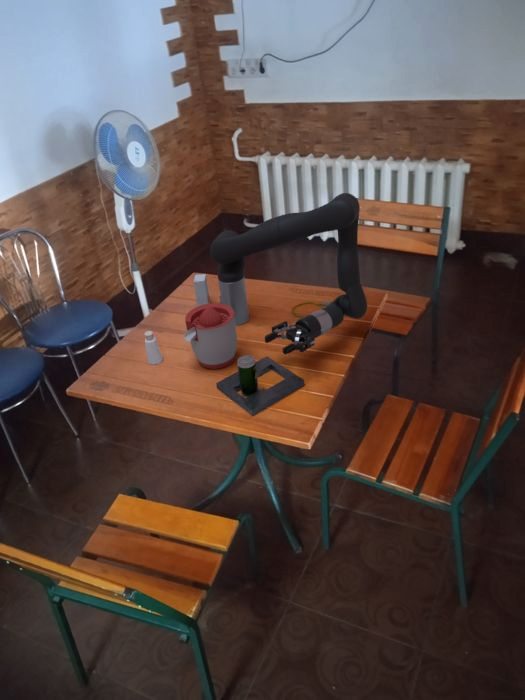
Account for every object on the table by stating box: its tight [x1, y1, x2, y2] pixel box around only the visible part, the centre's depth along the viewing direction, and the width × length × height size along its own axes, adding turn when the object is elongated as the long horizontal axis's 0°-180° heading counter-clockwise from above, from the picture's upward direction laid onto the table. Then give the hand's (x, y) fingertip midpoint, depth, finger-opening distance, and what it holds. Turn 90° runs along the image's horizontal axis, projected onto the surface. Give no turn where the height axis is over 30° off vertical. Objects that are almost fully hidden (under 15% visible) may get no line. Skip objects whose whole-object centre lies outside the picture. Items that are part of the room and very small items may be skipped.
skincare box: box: [193, 273, 211, 307], centre depth 213 cm, size 6×4×12 cm
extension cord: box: [291, 300, 334, 319], centre depth 205 cm, size 12×16×2 cm
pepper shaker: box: [143, 330, 164, 366], centre depth 185 cm, size 5×5×11 cm
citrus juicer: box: [183, 302, 238, 370], centre depth 179 cm, size 16×17×20 cm
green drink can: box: [236, 354, 260, 398], centre depth 165 cm, size 5×5×12 cm
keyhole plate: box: [215, 356, 305, 417], centre depth 170 cm, size 20×18×2 cm
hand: (274, 345), depth 167 cm, fingers open, 8 cm apart
